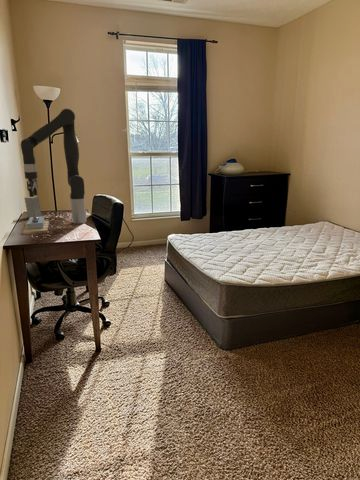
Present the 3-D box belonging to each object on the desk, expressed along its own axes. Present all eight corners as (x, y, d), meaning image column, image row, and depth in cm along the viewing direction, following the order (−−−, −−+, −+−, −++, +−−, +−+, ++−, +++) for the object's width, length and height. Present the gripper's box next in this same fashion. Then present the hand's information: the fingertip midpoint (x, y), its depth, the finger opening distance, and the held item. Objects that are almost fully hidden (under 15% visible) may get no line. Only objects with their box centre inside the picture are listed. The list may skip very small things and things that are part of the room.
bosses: (34, 224, 217) (33, 217, 215) (39, 224, 218) (39, 216, 216) (32, 228, 206) (31, 220, 205) (38, 228, 207) (37, 220, 206)
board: (27, 223, 225) (27, 221, 224) (48, 222, 229) (48, 220, 229) (22, 234, 197) (22, 232, 197) (47, 232, 202) (47, 230, 202)
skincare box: (42, 216, 247) (39, 196, 243) (34, 218, 241) (32, 197, 236) (34, 215, 251) (31, 195, 246) (26, 217, 244) (23, 196, 240)
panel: (30, 222, 222) (30, 217, 221) (44, 221, 225) (44, 216, 224) (27, 229, 203) (27, 223, 202) (43, 228, 206) (42, 222, 205)
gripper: (27, 170, 216) (30, 194, 220) (20, 172, 202) (24, 197, 207) (39, 170, 217) (42, 194, 221) (33, 171, 203) (36, 197, 208)
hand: (33, 195), depth 214 cm, fingers open, 8 cm apart
